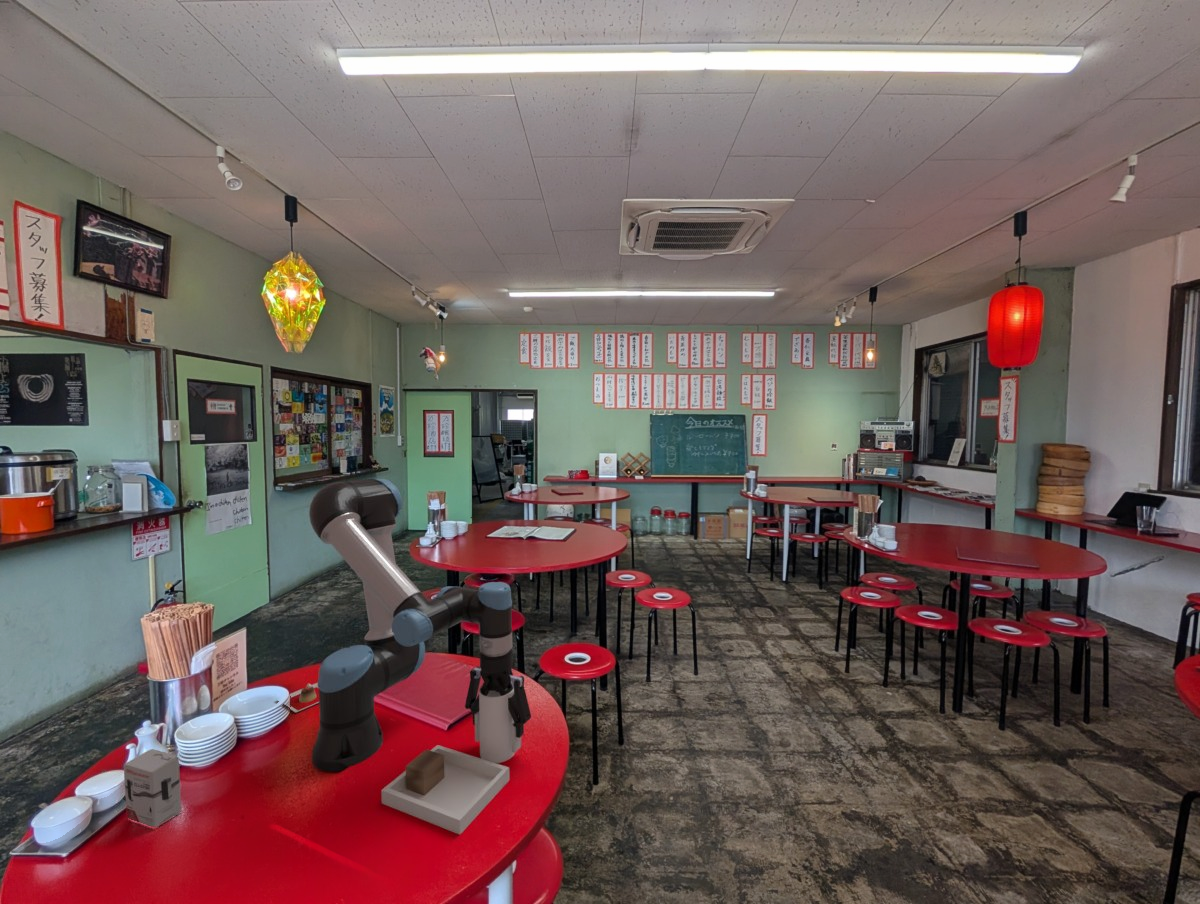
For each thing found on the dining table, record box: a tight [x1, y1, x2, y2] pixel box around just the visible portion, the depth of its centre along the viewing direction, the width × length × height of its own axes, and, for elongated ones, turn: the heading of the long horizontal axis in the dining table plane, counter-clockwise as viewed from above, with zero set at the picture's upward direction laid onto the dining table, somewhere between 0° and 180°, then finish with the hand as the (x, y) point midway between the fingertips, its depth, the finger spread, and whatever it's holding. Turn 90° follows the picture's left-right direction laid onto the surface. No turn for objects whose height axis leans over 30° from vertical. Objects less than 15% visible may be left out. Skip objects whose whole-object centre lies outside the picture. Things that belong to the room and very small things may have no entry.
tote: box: [381, 744, 510, 835], centre depth 104 cm, size 20×16×4 cm
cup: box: [478, 682, 516, 764], centre depth 116 cm, size 8×8×16 cm
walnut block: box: [405, 749, 444, 796], centre depth 106 cm, size 5×6×5 cm
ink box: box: [123, 748, 182, 828], centre depth 99 cm, size 8×5×12 cm, turn 72°
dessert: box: [289, 682, 319, 713], centre depth 143 cm, size 12×12×5 cm
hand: (498, 743), depth 117 cm, fingers open, 10 cm apart
